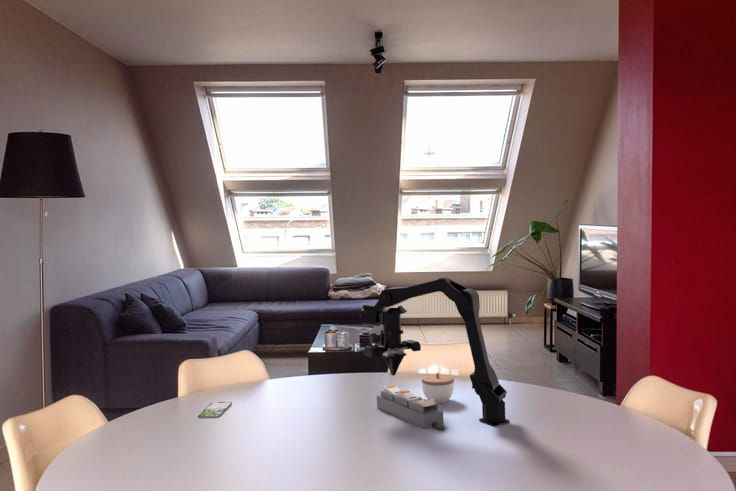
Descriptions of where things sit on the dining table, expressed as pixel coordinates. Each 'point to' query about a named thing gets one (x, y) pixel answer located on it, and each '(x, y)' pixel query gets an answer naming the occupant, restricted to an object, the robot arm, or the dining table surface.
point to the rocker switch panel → (411, 411)
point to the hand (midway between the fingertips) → (393, 375)
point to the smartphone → (215, 410)
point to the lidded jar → (438, 387)
